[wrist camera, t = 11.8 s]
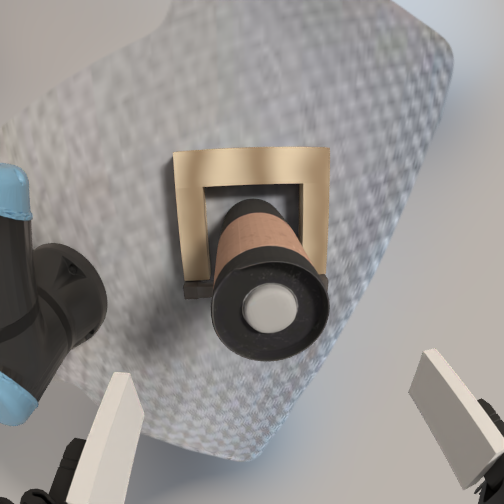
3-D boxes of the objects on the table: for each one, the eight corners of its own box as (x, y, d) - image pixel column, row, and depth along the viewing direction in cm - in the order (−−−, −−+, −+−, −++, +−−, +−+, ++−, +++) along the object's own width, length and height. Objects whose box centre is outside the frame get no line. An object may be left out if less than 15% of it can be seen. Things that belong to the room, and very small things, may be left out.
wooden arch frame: (188, 285, 40) (185, 299, 36) (177, 151, 34) (170, 153, 30) (319, 278, 41) (327, 291, 37) (323, 147, 35) (333, 148, 31)
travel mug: (287, 252, 39) (331, 353, 20) (226, 261, 39) (220, 369, 20) (281, 192, 36) (331, 249, 18) (216, 200, 36) (197, 267, 18)
